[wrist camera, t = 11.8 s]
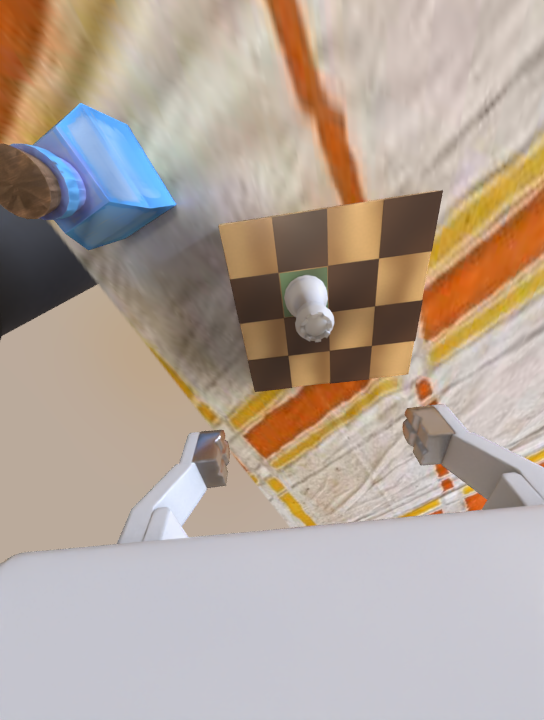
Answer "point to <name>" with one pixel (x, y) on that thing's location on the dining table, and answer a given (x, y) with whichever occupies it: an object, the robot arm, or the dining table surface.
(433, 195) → the chessboard
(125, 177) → the perfume bottle
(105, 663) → the robot arm
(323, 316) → the rook chess piece
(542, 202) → the dining table surface
